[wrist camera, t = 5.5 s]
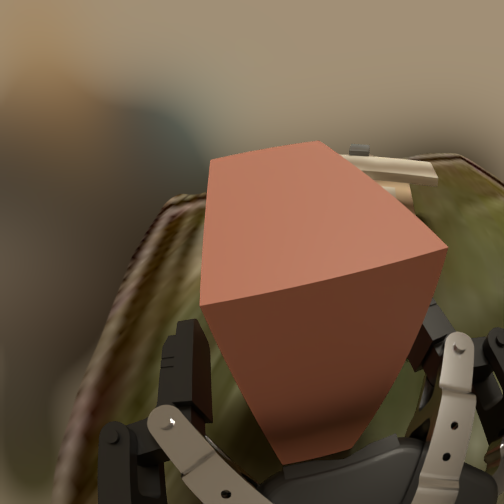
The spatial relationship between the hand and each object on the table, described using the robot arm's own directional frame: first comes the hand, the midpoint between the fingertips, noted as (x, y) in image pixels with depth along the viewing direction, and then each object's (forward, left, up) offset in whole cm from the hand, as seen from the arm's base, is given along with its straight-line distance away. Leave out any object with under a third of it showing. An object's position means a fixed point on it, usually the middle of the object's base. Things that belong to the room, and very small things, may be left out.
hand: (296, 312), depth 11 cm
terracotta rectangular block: (0, +1, -8) cm, 8 cm away
